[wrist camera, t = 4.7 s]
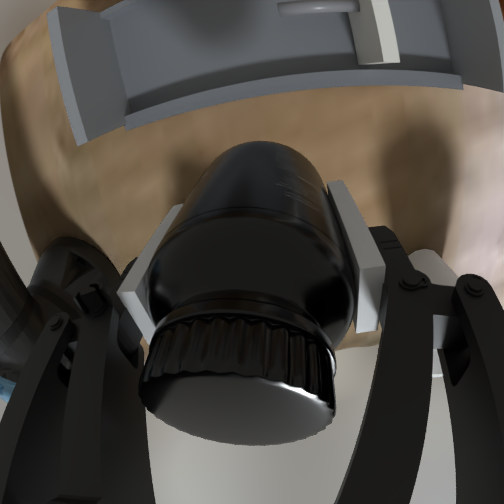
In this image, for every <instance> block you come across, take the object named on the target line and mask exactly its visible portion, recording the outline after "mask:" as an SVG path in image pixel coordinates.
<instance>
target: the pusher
mask: <svg viewBox="0 0 504 504" xmlns="http://www.w3.org/2000/svg"><path fill="white" fill-rule="evenodd" d="M277 7H278V11H279V15H280V17H281V16H289V15H298V14H310V13H328V12H348V15H349V19H350V24H351V28H352V33H353V38H354V43H355V48H356V53H357V59H358V65H361V64H383V63H400V58H399V52H398V46H397V41H396V35H395V30H394V25H393V21H392V16H391V12H390V8H389V4H388V0H299V1H289V2H280V3H277Z"/></svg>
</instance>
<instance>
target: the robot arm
mask: <svg viewBox="0 0 504 504" xmlns="http://www.w3.org/2000/svg"><path fill="white" fill-rule="evenodd" d="M327 188H328V197H329V200H330V203H331V206H332V209H333V212H334V214H335V217H336V220H337V223H338V227H339V230H340V233H341V236H342V239H343V242H344V245H345V249H346V252H347V255H348V259H349V262H350V266H351V269H352V273H353V277H354V282H355V288H356V307H355V312H354V316H353V322H354V326H355V331H356V333H361V332H368V331H374V330H378V323H379V321H380V324H381V327H382V333H381V338H380V343H379V348H378V355H377V361H376V366H375V371H374V375H373V380H372V385H371V389H370V393H369V397H368V402H367V406H366V409H365V414H364V417H363V421H362V424H361V428H360V431H359V435H358V438H357V441H356V445H355V448H354V451H353V454H352V457H351V460H350V463H349V466H348V469H347V472H346V474H345V477H344V480H343V482H342V485H341V488H340V490H339V493H338V495H337V498H336V500H335V503H334V504H409V503H410V499H411V496H412V493H413V489H414V485H415V482H416V478H417V473H418V469H419V465H420V460H421V455H422V450H423V445H424V440H425V433H426V427H427V421H428V413H429V404H430V395H431V385H432V370H433V348H437V352H438V356H439V360H440V365H441V369H442V374H443V378H444V383H445V388H446V393H447V399H448V405H449V412H450V418H451V425H452V433H453V442H454V454H455V468H456V504H504V310H503V308H502V306H501V304H500V302H499V300H498V298H497V296H496V294H495V292H494V290H493V289H492V287H491V285H490V284H489V283H488V281H487V280H485V279H484V278H482V277H481V276H478V275H475V274H465V275H462V276H460V277H459V278H458V279H457V281H456V284H455V286H446V285H437V284H433V283H431V281H430V279H429V278H428V276H427V275H426V274H424V273H422V272H421V271H419V270H415V269H414V267H413V265H412V263H411V261H410V259H409V258H408V256H407V254H406V252H405V251H404V249H403V248H402V245H401V244H400V242H399V241H398V239H397V237H396V235H395V234H394V232H393V231H392V230H390V229H389V228H387V227H386V226H377V227H367V225H366V223H365V221H364V219H363V217H362V215H361V213H360V211H359V209H358V207H357V206H356V204H355V202H354V200H353V198H352V196H351V194H350V193H349V191H348V189H347V187H346V185H345V184H344V182H343V180H341V181H331V182H327ZM182 206H183V204H178V205H173V207H172V208H171V210H170V211H169V212H168V214H167V215H166V217H165V218H164V220H163V221H162V223H161V224H160V225H159V227H158V228H157V230H156V231H155V233H154V234H153V236H152V237H151V239H150V240H149V242H148V243H147V245H146V246H145V248H144V249H143V251H142V252H141V254H140V256H139V257H136V258H135V259H134V260H132V261H131V262H130V263H129V264H128V265H127V266H126V268H125V270H124V271H123V274H121V276H119V274H118V272H117V271H116V269H115V268H114V267H113V265H112V264H111V263H110V262H109V260H108V259H107V258H106V257H105V256H104V255H103V254H102V253H100V252H99V251H98V250H97V249H95V248H94V247H93V246H91V245H89V244H88V243H86V242H84V241H81V240H79V239H76V238H72V237H61V238H58V239H56V240H54V241H53V242H52V243H51V244H50V245H49V246H48V247H47V248H46V249H45V250H44V251H43V253H42V255H41V257H40V259H39V261H38V264H37V266H36V269H35V271H34V274H33V276H32V279H31V282H30V284H29V286H28V287H27V288H26V286H25V285H24V283H23V281H22V280H21V278H20V276H19V275H18V273H17V271H16V270H15V268H14V266H13V264H12V263H11V261H10V259H9V257H8V255H7V253H6V251H5V250H4V248H3V246H2V244H1V242H0V398H1V399H3V400H4V401H6V402H7V403H8V404H7V406H6V409H5V411H4V414H3V417H2V420H1V422H0V504H156V503H155V497H154V491H153V484H152V476H151V468H150V459H149V450H148V440H147V427H146V413H145V412H146V411H145V406H144V405H143V404H142V403H141V398H140V397H139V396H138V390H139V389H138V385H139V379H140V376H141V374H142V371H143V368H144V350H143V347H142V346H141V345H140V341H141V338H142V336H143V337H144V338H145V340H146V341H147V343H148V344H149V345H150V342H151V339H152V336H153V334H154V331H155V329H156V328H155V326H154V324H153V322H152V320H151V317H150V315H149V312H148V308H147V303H146V297H145V279H146V273H147V269H148V266H149V263H150V261H151V259H152V257H153V255H154V253H155V251H156V249H157V247H158V245H159V243H160V242H161V240H162V238H163V236H164V235H165V233H166V231H167V230H168V228H169V227H170V225H171V223H172V222H173V220H174V218H175V217H176V215H177V214H178V212H179V210H180V209H181V207H182Z"/></svg>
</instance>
